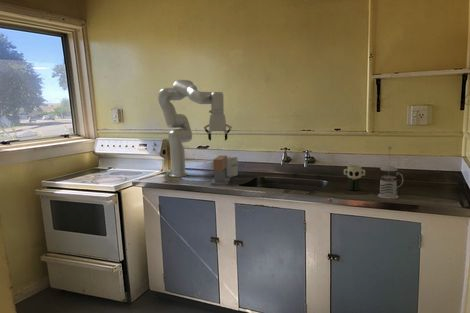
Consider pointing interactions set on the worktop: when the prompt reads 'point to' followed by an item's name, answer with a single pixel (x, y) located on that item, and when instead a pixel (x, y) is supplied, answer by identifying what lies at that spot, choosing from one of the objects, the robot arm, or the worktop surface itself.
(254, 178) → the worktop surface
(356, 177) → the big eared toy figure
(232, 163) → the supplement box
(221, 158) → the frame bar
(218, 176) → the display stand
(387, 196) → the french press
